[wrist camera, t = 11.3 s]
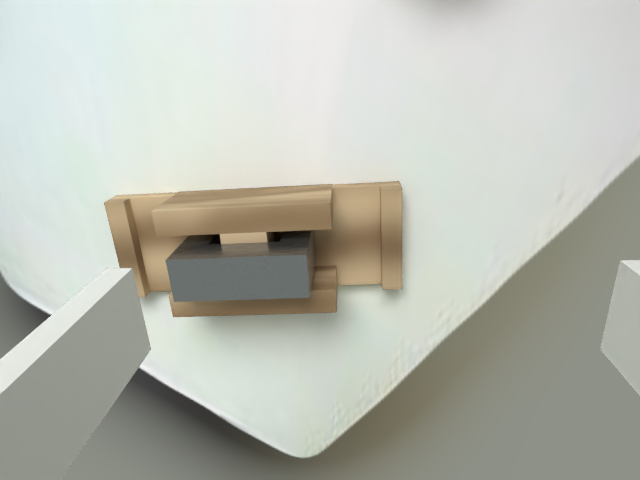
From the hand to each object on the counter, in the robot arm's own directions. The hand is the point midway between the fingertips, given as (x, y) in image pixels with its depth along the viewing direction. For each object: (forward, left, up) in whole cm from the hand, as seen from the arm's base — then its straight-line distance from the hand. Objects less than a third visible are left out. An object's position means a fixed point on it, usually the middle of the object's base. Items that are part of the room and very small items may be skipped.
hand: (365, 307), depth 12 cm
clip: (+6, -8, -21) cm, 23 cm away
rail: (+6, -8, -22) cm, 24 cm away
